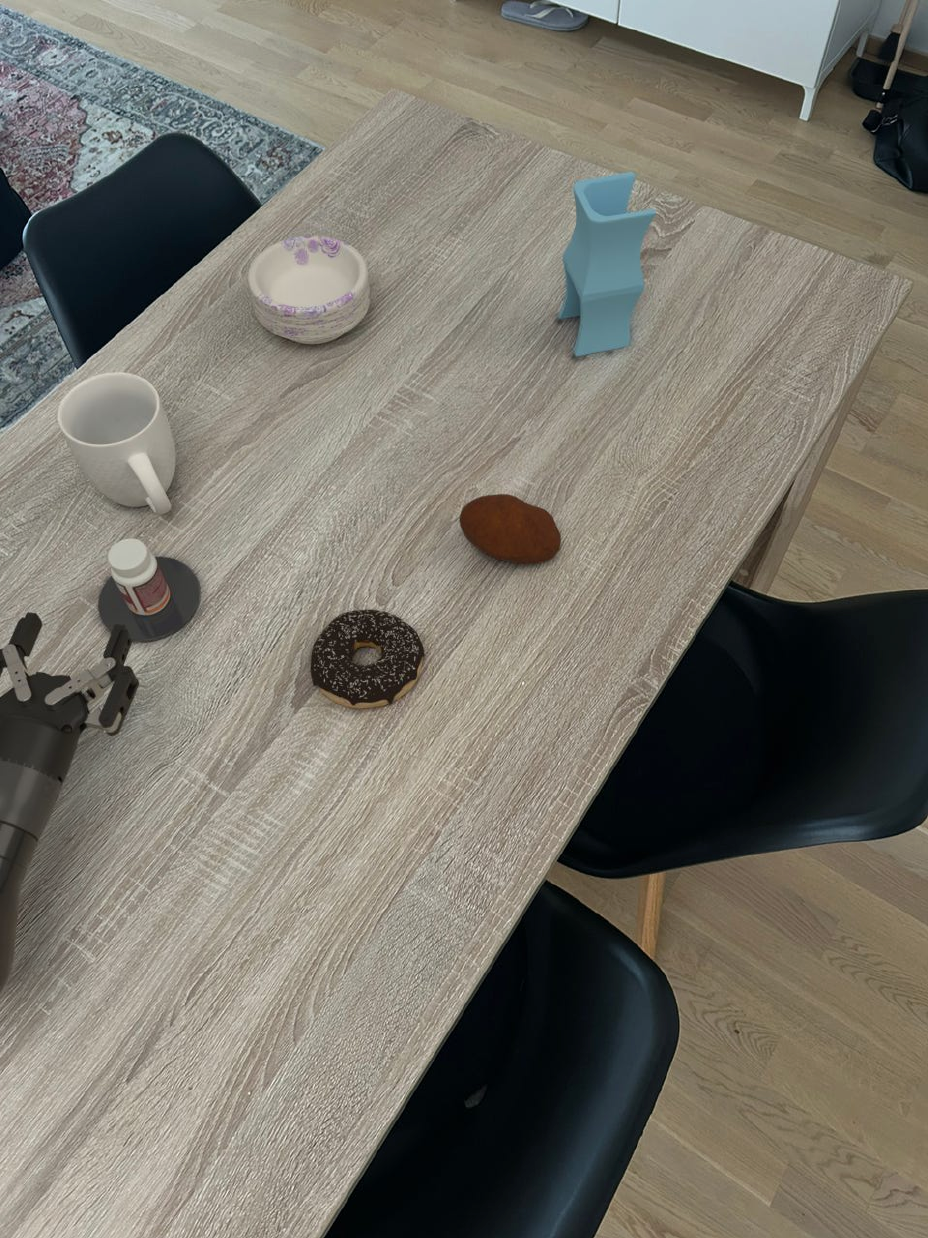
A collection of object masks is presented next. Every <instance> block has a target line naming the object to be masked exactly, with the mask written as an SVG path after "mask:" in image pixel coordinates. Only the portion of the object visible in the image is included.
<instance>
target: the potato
mask: <svg viewBox="0 0 928 1238" xmlns="http://www.w3.org/2000/svg"><path fill="white" fill-rule="evenodd" d="M554 519H555V518H554V517H553V515H551V514H550V513H549V512H548V510H546V509H544V508H542V507H539V506H537V505H533V504H531V503H528V502H525V501H523V500H522V499H521V498H519V497H517V496H514V495H511V494H508V493H498V494H497V493H496V494H489V495H483V496H479V497H477V498H475V499H472V500H471V501H469V502H468V503H465V505H464V506H463V507H462V509H461V511H460V516H459V520H458V521H459V524H460V525H459V526H460V528H461V531H462V533H463V535H464V537H465V538H466V539H467V541H469V543H471V544H472V545H473V546H474V547H475V548H477V549H478V550H479V551H481V552H482V553H484V554H486V555H488V556H489V557H491V558H493V559H497V560H501V561H505V562H510V563H517V564H524V565H525V564H527V565H529V564H535V565H536V564H540V563H545V562H547V561H550V560H552V559H554V558H555V556H556V555H557V554H558V553H559V551H560V550H561V545H562V544H561V543H562V535H561V532H560V530H559V528H558V525H557V524H556V522H555V520H554Z"/></svg>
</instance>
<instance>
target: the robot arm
mask: <svg viewBox="0 0 928 1238" xmlns="http://www.w3.org/2000/svg"><path fill="white" fill-rule="evenodd" d="M15 625H16V626H15V628H14V629H13V632H12V634H11V637H10V639H9V641H8V643H7V645H5V646H4V647H2V648H0V678H1V676H2V675H3V671H4V669H5V668H6V670H7V672H8V675H9V677H10V680H11V683H12V685H13V687H11V688H10V689H9V690H7V691H6V692H5V693H3V694H2V695H0V998H2V995H3V994H4V991H5V990H6V988H7V985H8V983H9V980H10V977H11V974H12V969H13V964H14V957H15V948H16V938H17V929H18V921H19V920H18V919H19V911H20V910H19V909H20V898H21V897H20V896H21V888H22V885H23V882H24V880H25V878H26V875H27V873H28V871H29V867H30V865H31V862H32V860H33V857H34V855H35V852H36V849H37V846H38V843H39V841H40V839H41V837H42V834H43V833H44V831H45V830H46V828H47V826H48V824H49V822H50V820H51V817H52V815H53V812H54V810H55V807H56V804H57V802H58V799H59V796H60V794H61V791H62V788H63V786H64V783H65V780H66V778H67V774H68V773H69V770H70V767H71V764H72V762H73V760H74V756H75V754H76V751H77V748H78V744H79V740H80V738H81V735H82V734H83V733H84V732H85V731H86V730H87V729H88V728H91V729H95V730H100V731H104V732H105V733H106V734H107V735H108V736H109V737H116V736H117V735H119V733H120V731H121V729H122V727H123V724H124V722H125V720H126V717H127V715H128V712H129V710H130V708H131V705H132V703H133V701H134V698H135V696H136V694H137V692H138V689H139V687H140V680H139V679H138V677H137V676H136V674H135V672H134V670H133V668H132V666H129V665H125V663H126V660H127V658H128V655H129V653H130V649H131V646H132V644H133V642H132V639H131V636H130V635H129V633H128V631H127V629H126V627H125V625H124V624H118V623H116V624H115V625H114V628H113V630H112V633H111V632H110V635H109V639H108V641H107V644H106V646H105V649H104V651H103V654H102V657H103V660H101V661H100V662H99V663H97V664H96V665H95V666H94V667H92V668H91V669H85V670H82V671H81V672H79V673H78V674H77V675H75V676H73V678H71V676H70V675H66V674H65V675H64V674H57V675H56V674H55V675H51V674H49V673H46V672H42V671H36V672H35V673H34V674H31V672H30V669H29V667H28V664H27V661H26V659H25V657H26V658H27V657H28V658H29V657H31V654H32V651H33V649H34V646H35V644H36V641H37V639H38V637H39V634H40V632H41V630H42V627H43V621H42V619H41V617H40V616H39V615H38V614H37V613H36V612H27V613H26V614H25V617H24V616H23V617H21V618H20V619H19V620H18V621H17V624H15ZM85 688H87V689H86V690H85V691H84V692H83V691H82V690H84V689H85ZM109 689H110V691H109V693H108V694H107V695H108V696H107V697H106V699H105V702H104V704H100V705H98V707H97V709H96V710H95V711H94V712H92V713H91V712H90V710H89V707H90V706H92V705H93V704H95V703H96V702H97V701H99V700H100V699H101V698H103V697H104V695H105V693H106V691H107V690H109Z"/></svg>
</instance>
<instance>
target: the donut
mask: <svg viewBox="0 0 928 1238" xmlns="http://www.w3.org/2000/svg"><path fill="white" fill-rule="evenodd" d="M364 647H371V648H374V649H376V650H377V651H378V652H379V653H380V654H381V655H380V657H379V658H378V659H377V660H376V661H374V662H373V663H370V664H368V665H365V664H364V665H363V664H362V665H361V664H358V663H356V662H354V661H353V655H354V653H355V651H356V650H358V649H359V648H364ZM424 657H426V654H425V648H424V645H423V642H422V640H421V638H420V636H419V634H418V632H417V631H416V630H415V629H414V628H413V627H412V626H411V625H410V624H408V622H406V621H404V620H403V619H402V618H401V617H398V616H397V615H396V614H392V613H391V612H390V613H389V612H387V611H383V610H377V609H354V610H349V611H346V612H343V613H341V614H339V615H337V616H336V617H334V618H333V619H332V620H331V621H330V622H329V623H328V624H327V625H326V627H325V628H324V629H323V630H322V631H321V633H320V634H319V635H318V637H317V638H316V640H315V642H314V644H313V646H312V651H311V655H310V676H311V679H312V684H313V687H317V688H318V689H319V691H320V692H321V694H323V696H325V697H326V698H328V699H329V700H330V701H332V702H333V703H335V704H338V705H340V706H342V707H345V708H352V709H359V710H361V709H371V708H372V709H373V708H380V707H383V706H386V705H392V704H393V703H394V702H396V701H397V700H398V699H400V698H402V697H403V696H404V695H406V693H408V692H409V691H410V690H411V689H412V688H413V687H414V685H415V683H417V681H418V679H419V676H420V674H421V672H422V667H423V658H424Z"/></svg>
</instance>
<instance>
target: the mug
mask: <svg viewBox="0 0 928 1238" xmlns="http://www.w3.org/2000/svg"><path fill="white" fill-rule="evenodd" d="M56 417H57V418H56V419H57V424H58V427H59V429H60V432H61V434H62V435H63V439H64V440H65V442H66V445H67V446H68V448H69V450H70V453H71V455H72V456H73V457H74V460H75V462H76V463H77V464H78V466H79V469H80V470H81V471H82V472H83V474H84V476H85V477H86V478H87V479H88V480H89V482H90V483H91V484H92V485H93V486H94V488H95V489H97V490H98V491H99V492H100V493H101V494H103V496H105V497H106V498H107V499H110V500H111V501H112V502H115V503H117V504H119V505H122V506H125V507H130V508H141V507H146V506H149V507H150V508H151V510H152V511H153V512H154V513H155V514H156V515H158V516H161V515H165V514H167V513H169V512H170V511H171V510H172V503H171V501H170V499H169V497H168V495H167V492H168V490H169V488H170V486H171V484H172V482H173V480H174V476H175V470H176V456H177V455H176V446H175V440H174V437H173V431H172V429H171V424H170V423H169V420H168V416H167V414H166V411H165V407H164V406H163V403H162V400H161V398H160V396H159V393H158V392H157V389H156V388H155V387H154V385H152V383H151V382H149V381H148V380H146V379H145V378H144V377H141V376H139V375H137V374H134V373H130V372H124V371H123V372H122V371H113V372H104V373H99V374H96V375H93V376H90V377H89V378H86V379H84V380H82V381H80V382H79V383H77V384H76V385H75V386H73V387H72V388H71V389H70V390H69V391H68V392H66V394H65V395H64V396H63V398H62V400H61V401H60V403H59V405H58V409H57V415H56Z"/></svg>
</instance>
